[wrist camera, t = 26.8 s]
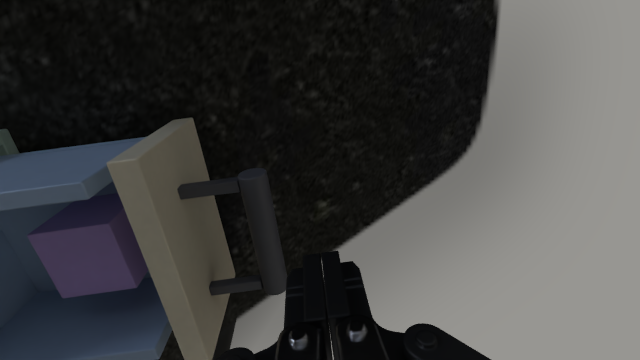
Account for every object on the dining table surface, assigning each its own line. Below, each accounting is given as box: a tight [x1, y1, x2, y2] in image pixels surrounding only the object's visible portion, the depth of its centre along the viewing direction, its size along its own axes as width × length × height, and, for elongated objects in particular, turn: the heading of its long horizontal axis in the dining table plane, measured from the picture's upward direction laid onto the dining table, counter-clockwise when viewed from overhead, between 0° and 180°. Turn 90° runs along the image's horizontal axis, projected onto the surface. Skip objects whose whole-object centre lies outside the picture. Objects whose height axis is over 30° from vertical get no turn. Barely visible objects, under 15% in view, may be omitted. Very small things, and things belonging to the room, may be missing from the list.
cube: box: [27, 193, 149, 298], centre depth 19 cm, size 4×4×4 cm
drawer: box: [0, 118, 287, 360], centre depth 18 cm, size 18×11×7 cm, turn 97°
